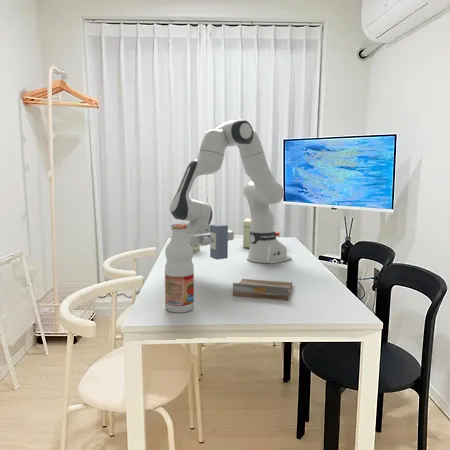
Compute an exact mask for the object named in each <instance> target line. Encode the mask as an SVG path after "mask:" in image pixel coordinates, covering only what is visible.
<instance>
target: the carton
mask: <svg viewBox="0 0 450 450" xmlns="http://www.w3.org/2000/svg"><path fill="white" fill-rule="evenodd" d="M228 229H229V225H227V224H224V223H216V224H210V238H214V243H210V244H209V248H210V250H209V254H210V255H209V257H210V258H211V259H214V260H224V259H228V253H229V252H228V251H229V250H228V247H229V245H228V243H229V242H228Z"/></svg>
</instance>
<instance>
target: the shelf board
mask: <svg viewBox="0 0 450 450" xmlns="http://www.w3.org/2000/svg"><path fill="white" fill-rule="evenodd" d="M292 287H293V282H291V281H280V280H263V279H249V278H241V280H240V281H239V282H233V283H232V297H233V296H234V297H245V298H258V299H269V300H279V299H280V301H281V300H282V301H289V299H290V296H291V292H292V289H293V288H292Z"/></svg>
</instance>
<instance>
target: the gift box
mask: <svg viewBox="0 0 450 450" xmlns="http://www.w3.org/2000/svg"><path fill="white" fill-rule="evenodd" d="M242 227H243V237H242V240H243V241H242V243H243V244H242V248H249V249H250V231H251V217H250V218H244V220H243V224H242Z"/></svg>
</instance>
